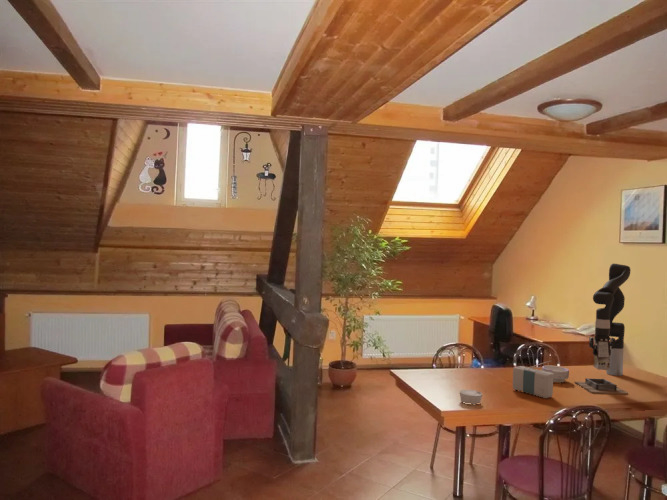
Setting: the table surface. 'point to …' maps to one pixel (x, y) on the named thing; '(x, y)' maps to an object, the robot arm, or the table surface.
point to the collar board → (600, 386)
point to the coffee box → (602, 355)
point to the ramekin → (470, 396)
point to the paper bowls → (557, 372)
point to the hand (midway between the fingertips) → (601, 355)
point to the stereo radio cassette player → (533, 381)
